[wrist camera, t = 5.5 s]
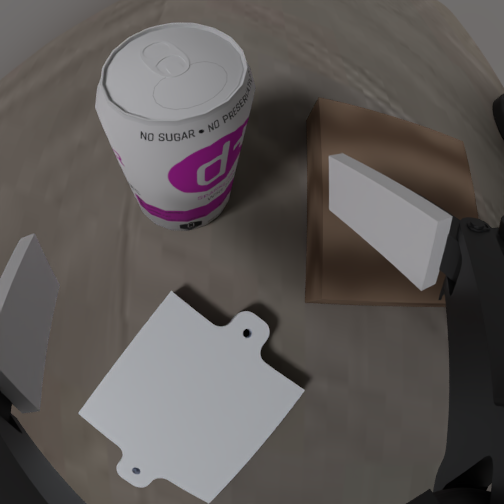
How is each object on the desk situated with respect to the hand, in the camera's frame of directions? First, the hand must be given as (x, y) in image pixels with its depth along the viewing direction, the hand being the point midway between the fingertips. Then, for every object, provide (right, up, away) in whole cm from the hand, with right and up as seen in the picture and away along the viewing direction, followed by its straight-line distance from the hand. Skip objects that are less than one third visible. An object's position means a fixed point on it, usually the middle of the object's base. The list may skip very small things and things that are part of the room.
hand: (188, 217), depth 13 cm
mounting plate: (-3, -14, +11) cm, 18 cm away
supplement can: (-3, +4, +15) cm, 15 cm away
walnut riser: (+16, +2, +17) cm, 24 cm away
